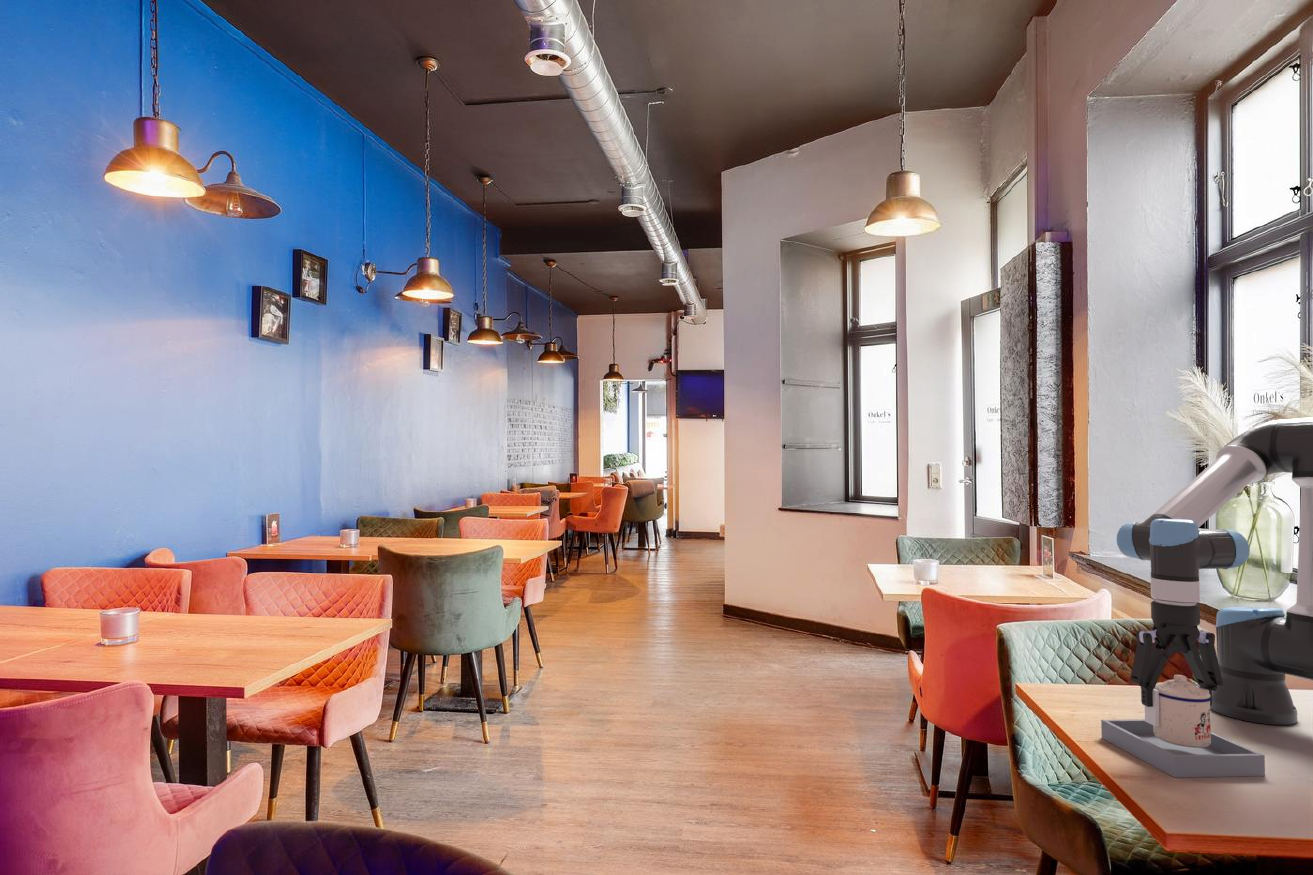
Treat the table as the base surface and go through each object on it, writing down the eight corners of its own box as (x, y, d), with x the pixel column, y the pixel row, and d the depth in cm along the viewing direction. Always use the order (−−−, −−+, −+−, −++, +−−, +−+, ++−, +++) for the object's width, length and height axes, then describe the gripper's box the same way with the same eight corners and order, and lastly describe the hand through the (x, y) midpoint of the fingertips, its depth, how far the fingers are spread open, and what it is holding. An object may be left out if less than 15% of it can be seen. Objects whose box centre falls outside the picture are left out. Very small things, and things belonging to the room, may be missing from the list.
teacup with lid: (1208, 753, 128) (1206, 686, 129) (1147, 739, 134) (1145, 675, 135) (1218, 736, 137) (1217, 673, 137) (1160, 723, 143) (1159, 663, 144)
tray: (1181, 736, 145) (1180, 718, 145) (1265, 775, 127) (1264, 755, 127) (1101, 737, 144) (1101, 719, 144) (1174, 777, 126) (1173, 756, 126)
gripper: (1213, 598, 141) (1215, 716, 140) (1105, 598, 140) (1107, 717, 139) (1247, 605, 134) (1249, 730, 133) (1134, 605, 132) (1135, 731, 131)
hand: (1177, 723), depth 136 cm, fingers closed on teacup with lid, 9 cm apart
